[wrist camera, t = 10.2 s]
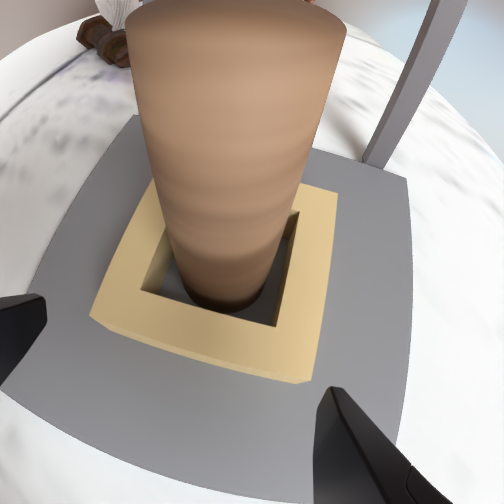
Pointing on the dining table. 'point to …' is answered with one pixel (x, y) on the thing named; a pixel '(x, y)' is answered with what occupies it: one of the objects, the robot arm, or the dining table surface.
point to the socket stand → (232, 315)
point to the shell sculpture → (116, 11)
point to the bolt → (104, 40)
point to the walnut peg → (229, 128)
